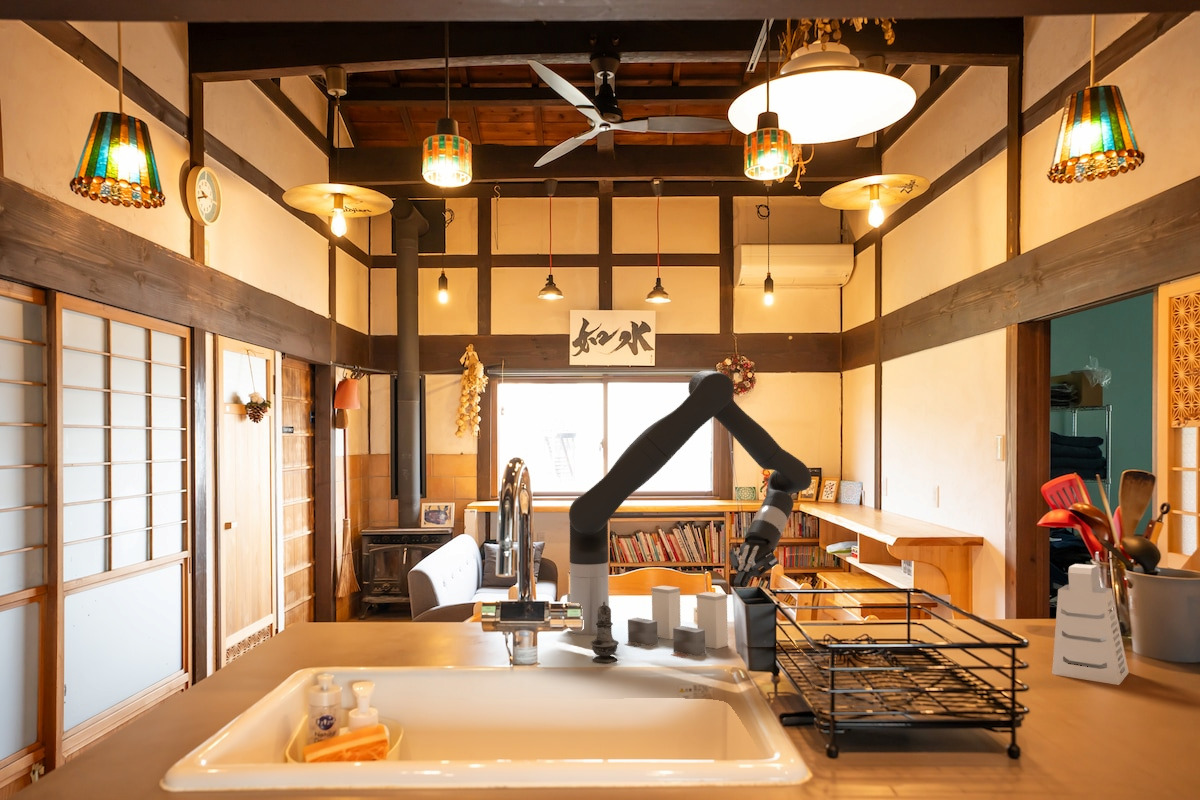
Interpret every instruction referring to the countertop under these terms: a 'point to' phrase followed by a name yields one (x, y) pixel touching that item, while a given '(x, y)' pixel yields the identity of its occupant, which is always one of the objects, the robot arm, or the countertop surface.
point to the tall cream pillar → (666, 609)
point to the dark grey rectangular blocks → (683, 637)
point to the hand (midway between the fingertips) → (738, 587)
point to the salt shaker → (604, 638)
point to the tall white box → (713, 618)
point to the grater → (1088, 630)
